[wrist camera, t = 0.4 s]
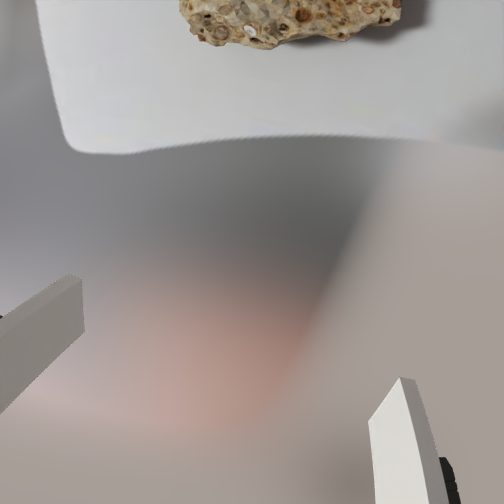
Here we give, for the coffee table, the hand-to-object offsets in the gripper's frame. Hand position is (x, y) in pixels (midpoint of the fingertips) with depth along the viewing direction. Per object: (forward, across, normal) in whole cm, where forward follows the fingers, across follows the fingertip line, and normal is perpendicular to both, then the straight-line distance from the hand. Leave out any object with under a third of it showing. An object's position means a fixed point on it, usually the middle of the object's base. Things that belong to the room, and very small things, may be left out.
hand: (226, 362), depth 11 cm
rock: (+21, -4, +25) cm, 33 cm away
